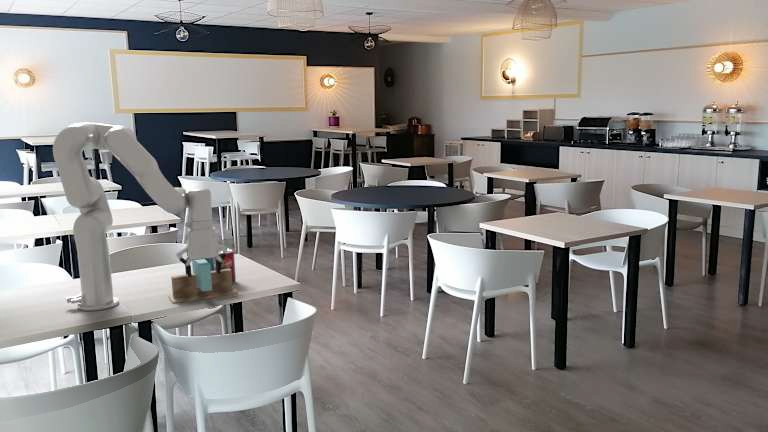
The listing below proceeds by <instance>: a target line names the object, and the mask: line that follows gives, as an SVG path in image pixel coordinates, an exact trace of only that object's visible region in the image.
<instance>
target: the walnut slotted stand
mask: <svg viewBox="0 0 768 432" xmlns="http://www.w3.org/2000/svg"><path fill="white" fill-rule="evenodd" d="M191 275H192V277H188V275H186V273H185V274H181V275H180V274H179V275H172V276H171V277H170V279H171V289H172V294H171V295H168V299H169V300H170V302H171V303H172V304H180V303H186V302H192V301H198V300H205V299H210V298H211V299H212V298H217V297H225V296H230V295H231V296H232V295H238V294H239V292H238V291H237V289H235V288H234V287H233V284H232V270H231V269H223V270H220V273H217V272H216V270H215V271H211V281H212V290H210V291H203V292H202V290H201V289H200V288H199V287H198V286H197V284H196V274H195V273H193V272H192V273H191Z"/></svg>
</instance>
